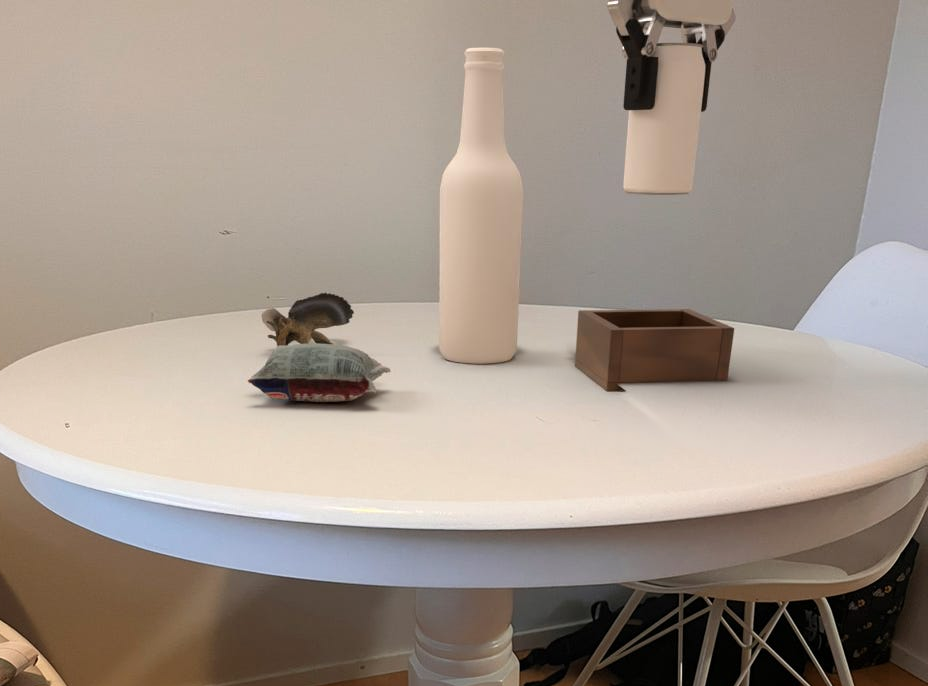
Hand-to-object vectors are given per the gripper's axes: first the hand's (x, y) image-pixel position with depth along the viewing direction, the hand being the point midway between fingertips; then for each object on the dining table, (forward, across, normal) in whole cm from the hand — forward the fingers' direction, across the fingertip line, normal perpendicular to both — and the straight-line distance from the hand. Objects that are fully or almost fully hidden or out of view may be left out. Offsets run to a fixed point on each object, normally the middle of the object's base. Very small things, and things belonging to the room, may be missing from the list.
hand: (665, 108), depth 89 cm
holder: (+25, +2, +1) cm, 25 cm away
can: (+7, 0, 0) cm, 7 cm away
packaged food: (+25, -30, +13) cm, 41 cm away
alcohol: (+25, -6, +19) cm, 32 cm away
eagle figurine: (+25, -20, +32) cm, 45 cm away
